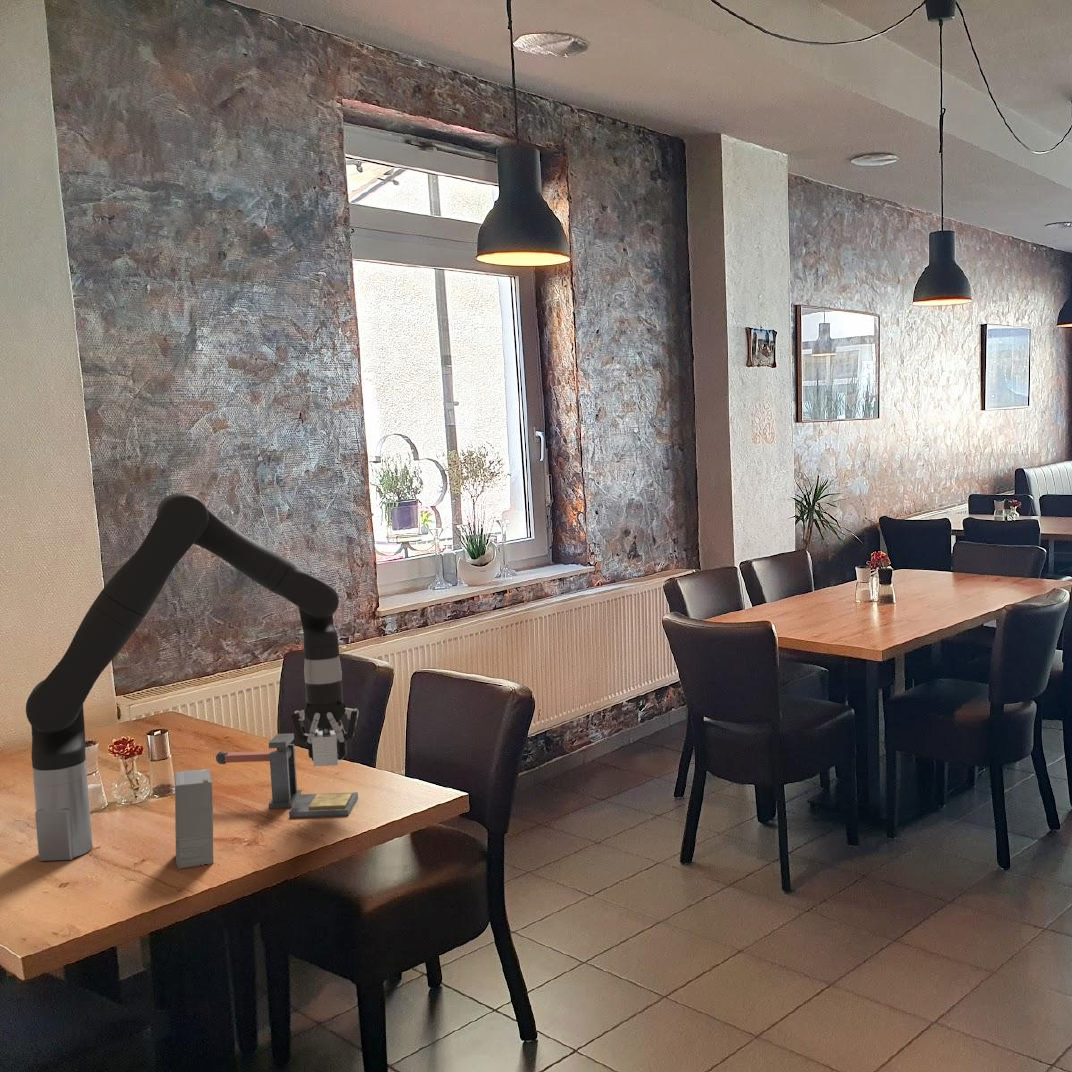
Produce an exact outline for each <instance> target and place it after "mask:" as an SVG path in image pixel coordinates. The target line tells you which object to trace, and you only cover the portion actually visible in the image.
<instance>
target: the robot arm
mask: <svg viewBox="0 0 1072 1072" xmlns="http://www.w3.org/2000/svg"><path fill="white" fill-rule="evenodd" d="M193 545H196V546H199V547H201V548H203V549H205V550H207V551H208V552H210V553H212V554H213V555H215V556H217V557H219V558H220V559H221V560H223V561H225V562H226V563H228V564H229V565H230V566H232V567H233V568H235V570H237V571H239V573H241V574H242V575H245V576H246V577H247V578H249V579H250V580H252V581H253V582H255V583H257V584H258V585H260V586H262V587H263V588H264V589H267V590H268V591H270V592H272V593H274V594H276V595H278V596H280V597H282V598H284V599H285V600H287V601H289V602H290V603H292V604H293V605H295V606H296V607H298V610H299V617H300V623H301V629H302V631H303V633H302V634H303V654H304V663H303V664H304V666H303V667H304V668H303V672H304V673H303V675H304V690H305V707H304V709H302V710H298V709H297V710H295V711H294V712H293V713H292V714H291V720H292V723H293V726H294V729H295V731H296V735H297V738H298V741H300V742H302V741H303V742H306V744H307V748H308V749H307V750H308V757H309V759H311V761H313V748H312V737H313V736H315V734H316V733H317V732H318V731H319V729H322V728H323V727H328V728H330V729H331V728H332V730H334V732H335V733H336V735H337V736H338V740H339V742H338V751H339V760H341V761H342V760H343V759H344V758H345V757H347V754H348V749H347V746H348V745H347V741H348V740H351V739H353V737H354V736H355V735H356V729H357V725H358V719H359V714H360V713H359V712H360V709H359V708H357V707H355V708H349V707H346V704H345V703H344V692H343V691H344V690H343V671H342V665H341V664H342V663H341V660H340V649H339V644H340V643H339V635H338V631H337V630H336V628H335V625H334V616H333V615H334V614H335V613H336V611H337V610H338V607H339V605H340V604H339V603H340V599H339V595H338V592H336V589H334V588H333V587H332V586H331V585H329V584H328V583H326V582H324V581H323V580H320V579H319V578H317V577H315V576H313V575H312V574H309V573H308V572H306V571H304V570H303V569H300V568H299V567H298V566H297V565H295V564H294V563H293V562H291V561H290V560H289V559H287V558H286V557H283V556H282V555H280V554H278V553H276V551H274V550H272V549H270V548H268V547H267V546H265V545H264V544H261V543H259V542H257V541H255V540H253V539H252V538H249V537H248V536H246V535H244V534H243V533H241V532H240V531H238V530H236V529H234V528H232V527H231V526H230V525H228V524H227V523H226V522H224V521H223V520H221V519H220V518H219V517H218V516H216V515H215V514H214V513H213V512H212V511H210V509H208V508H207V506H206V504H205V503H204V502H203V501H202V500H201V499H200V498H198V497H197V496H196V495H193V494H192V493H188V492H176V493H171V494H169V495H168V496H166V497H164V498H163V499H162V500H161V502H160V503H159V505H158V507H157V512H156V518H155V520H154V522H153V524H152V526H151V528H150V529H149V530H148V533H147V535H146V536H145V538H144V540H143V542H142V543H141V544H140V546H139V547H138V549H137V550H136V551H135V552H134V554H133V555H132V556H131V557H130V558H129V559H128V560H127V561H126V562H125V563H124V564H123V565H122V566H121V567H120V568H119V569H118V570H117V571H116V572H115V574H114V575H112V577H111V578H110V579H109V580H108V582H107V583H106V585H104V587H103V588H102V589H101V590H100V592H99V594H98V595H97V597H95V599H94V601H93V602H92V604H91V606H90V607H89V609H88V610H87V612H86V614H85V615H84V617H83V618H82V621H81V622H80V625H79V626H78V628H77V630H76V632H75V634H74V636H73V638H72V640H71V642H70V644H69V646H68V648H67V650H66V651H65V653H64V654H63V656H62V658H61V659H60V661H59V662H58V663H57V665H56V666H54V668H53V669H52V670H51V672H50V673H49V674H48V675H47V676H46V678H44V679H43V680H41V681H40V682H39V683H37V684H36V685H35V687H34V688H33V689H32V691H31V692H30V694H29V696H28V697H27V700H26V703H25V715H26V719H27V721H28V723H29V724H30V725H31V727H30V728H31V767H32V777H33V779H32V780H33V790H34V792H33V793H34V805H35V813H34V814H35V815H34V816H35V828H36V829H35V830H36V838H37V839H36V840H37V852H38V861H39V862H43V861H45V862H46V861H49V862H50V861H71V860H73V859H74V858H77V857H80V856H82V855H84V854H86V853H88V852H90V851H91V850H92V848H93V837H92V836H93V834H92V824H91V823H92V822H91V810H90V809H91V808H90V797H89V784H88V782H89V781H88V769H87V759H86V757H87V756H86V755H87V754H86V729H85V714H84V713H85V711H84V703H85V701H86V699H87V698H88V695H89V694H90V692H91V691H92V688H93V686H94V685H95V683H96V682H97V680H98V679H99V677H100V676H101V674H102V673H103V672H104V670H105V669H106V668H107V667H108V666H109V664H110V663H111V662H112V660H113V659H114V658H115V657H116V656H117V655H118V654H119V652H121V650H122V649H123V647H124V646H125V645H126V644H127V642H128V641H129V640H130V639H131V638H132V636H133V634H134V633H135V632H136V631H137V629H138V628H139V626H140V625H141V623H142V622H143V620H144V619H145V617H146V616H147V614H148V612H149V611H150V610H151V608H152V606H154V605H153V604H154V603H155V601H156V600H157V598H158V596H159V595H160V593H161V591H162V589H163V587H164V586H165V583H166V582H167V580H168V578H169V576H170V575H171V573H172V571H173V570H174V568H175V567H176V565H178V563H179V562H180V561H181V559H182V558H184V556H185V554H187V552H188V551H189V550H190V549H191V548H192V546H193ZM344 715H346V716H347V717H346V718H347V719H348V720H349V722H348V728H347V731H345V729H344V724H343V722H342V720H341V719H342V718H343V716H344ZM305 716H306V718H307V719H308V720H309V721H310V722H311V725H310V727H309V733H307V731H306V727H305V724H304V721H305Z"/></svg>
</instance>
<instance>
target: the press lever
mask: <svg viewBox="0 0 1072 1072" xmlns="http://www.w3.org/2000/svg"><path fill="white" fill-rule="evenodd" d="M287 751H288V759H289V757H290V756H291V753H292V752H291V749H290V748H289V747H286V748H280V749H279V750H278V751H277V750H261V751H260V750H259V751H258V750H257V751H256V750H255V751H237V752H236V751H235V752H234V751H231V752H227V751H225V750H221V751H219V752H218V753H216V755H215V761H216V762H217V763H218V764H219V765H226V764H228V763H229V764H230V763H250V762H251V763H253V762H254V763H255V762H270V756H269V753H270V752H287Z"/></svg>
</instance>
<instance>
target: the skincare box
mask: <svg viewBox="0 0 1072 1072" xmlns="http://www.w3.org/2000/svg"><path fill="white" fill-rule="evenodd" d="M213 794H214V793H213V781H212V773H211V770H210V768H204V769H194V770H193V769H192V770H191V769H190V770H181V771H174V796H175V797H174V801H175V802H174V804H175V805H174V806H175V807H174V808H175V811H174V813H175V814H174V815H175V820H174V821H175V822H174V823H175V826H174V827H175V829H174V830H175V862H176V866H177V869H178V870H180V869H187V868H194V867H201V866H200V865H202V866H205V865H204V864H208V865H212V864H211V863H213V864H214V801H213V800H214V797H213Z"/></svg>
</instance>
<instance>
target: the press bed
mask: <svg viewBox="0 0 1072 1072" xmlns="http://www.w3.org/2000/svg"><path fill="white" fill-rule="evenodd" d="M294 740H295V733H294V732H293V733H277V734H275V736H273V738H272V739H271V740H270V741H269V742H268V749H276V751H278V750H279V749H280V748H286V747H289V748H290V749H291V752H292V753H291V756H290V757H289V759H288V751H287V752H270V753H269V756H270V761H269V770H270V783H271V784H270V786H271V800H270V801H269V803H268V809H287V808H288V809H289V812H288V817H289V819H293V818H294V819H296V818H321V817H322V818H323V817H325V818H326V817H327V816H328V817H344V816H345V817H348V816H349V815H350V813H351V811H352V809H353V808H354V806H355V805H356V804H357V803H356V802H357V800H358V799H359V793H358V792H357V791H355V792H337V793H336V792H335V793H330V792H329V793H311V794H310V793H309V794H308V793H306V794H303V793H302V790H301V789H298V780H297V767H296V766H297V765H296V764H297V762H296V749H295V747H296V746H295V743H292V742H293V741H294ZM352 807H353V808H352Z"/></svg>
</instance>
